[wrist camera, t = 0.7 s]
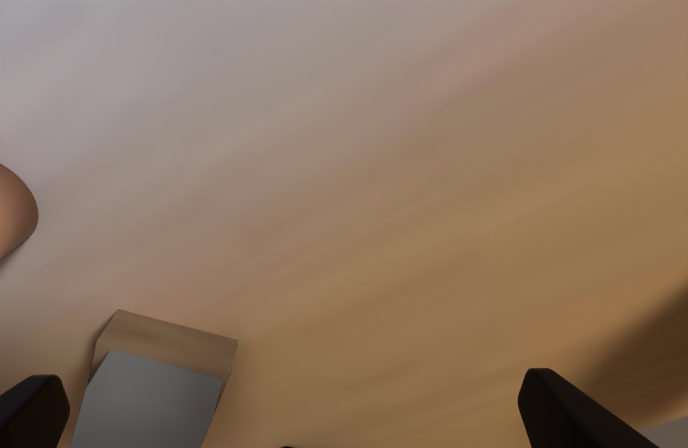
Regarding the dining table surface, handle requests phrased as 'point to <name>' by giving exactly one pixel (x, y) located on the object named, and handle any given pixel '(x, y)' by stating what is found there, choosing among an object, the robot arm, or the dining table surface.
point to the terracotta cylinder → (15, 211)
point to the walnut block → (166, 346)
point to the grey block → (145, 405)
